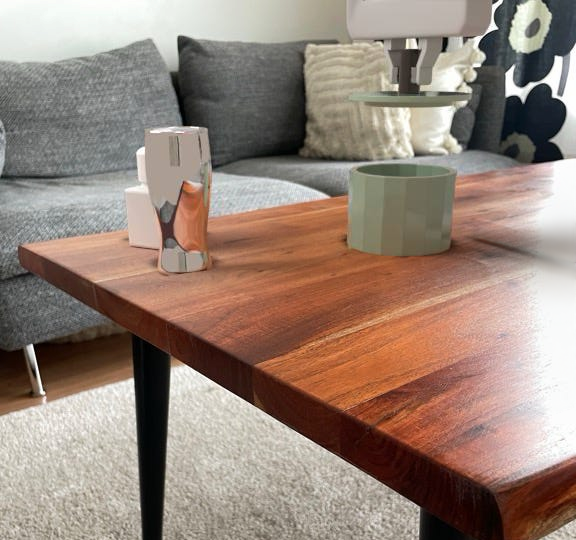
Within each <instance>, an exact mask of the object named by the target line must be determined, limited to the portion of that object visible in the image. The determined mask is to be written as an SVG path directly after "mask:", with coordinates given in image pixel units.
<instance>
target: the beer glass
mask: <svg viewBox="0 0 576 540" xmlns="http://www.w3.org/2000/svg"><path fill="white" fill-rule="evenodd" d="M143 130H144V146H145V168H146V178H147V186H148V191H149V196H150V200H151V204H152V208H153V212H154V216H155V220H156V224H157V228H158V234H159V249H158V260H157V271H158V273H159V274H161V275H163V276H167V277H170V276H178V275H183V274H192V273H197V272H204V271H211V270H213V263H212V258H211V254H210V250H209V249H210V248H209V243H208V226H209V225H208V224H209V215H210V209H211V200H212V189H213V188H212V185H213V170H212V169H213V168H212V156H211V155H212V154H211V148H210V147H211V146H210V140H209V129H208V128H207V127H202V126H188V125H186V126H182V125H181V126H179V125H178V126H157V127H149V128H146V129H145V128H144V129H143Z"/></svg>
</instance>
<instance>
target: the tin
mask: <svg viewBox="0 0 576 540" xmlns="http://www.w3.org/2000/svg"><path fill="white" fill-rule="evenodd" d="M457 175H458V170H457V169H454V168H452V167H450V166H444V165H440V164H439V165H438V164H431V163H430V164H429V163H418V162H415V163H414V162H378V163H377V162H376V163H367V164H366V163H365V164H361V165H355V166H352V167H351V168H349V170H348V201H347V228H346V229H347V233H346V244H347V248H348V250H352V249H354V250H357V251H359V252H363V253H367V254H373V255H379V256H392V257H422V256H429V255H435V254H440V253H443V252H445V251H448V250H449V249H450V247H451V241H452V231H453V220H454V219H453V218H454V209H455V200H456V199H455V197H456V189H457V188H456V187H457Z"/></svg>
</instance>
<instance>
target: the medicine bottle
mask: <svg viewBox="0 0 576 540" xmlns="http://www.w3.org/2000/svg"><path fill="white" fill-rule="evenodd" d="M135 154H136V165H137V178H138V181H139V182H140V183H141V185H136V186H131V187H128V188H127V187H126V188H125V189H124V191H123V193H124V202H125V203H124V204H125V213H126V214H125V215H126V222H127V224H126V225H127V233H128V234H127V235H128V243H129V246H130V247H135V248H144V249H150V250H151V249H152V250H159V234H158V228H157V224H156V220H155V216H154V212H153V208H152V204H151V200H150V196H149V191H148V186H147V178H146V168H145V145H144V146H142V147H140V148H139V149H137V151H136V152H135Z"/></svg>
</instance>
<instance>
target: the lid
mask: <svg viewBox="0 0 576 540" xmlns="http://www.w3.org/2000/svg"><path fill="white" fill-rule="evenodd" d="M421 51H422V50H419V49H418V48H406V49H400V64H399V83H398V84H397V87H398V88H397V90H379V91H378V90H377V91H373V90H371V91H355V92H348V93H347V100H348V101H352V102H363V105H364V106H366V107H373V108H399V109H402V108H403V109H404V108H406V109H419V108H421V109H422V108H423V109H424V108H446V107H451V106H454V102H457V103H458V102H467V101H471V100H472V93H470V92H464V91H448V90H447V91H444V90H421V85H412V84H411V77H412V76H411V68H412V67H416V66H417V63H418V60H419V57H420V54H421Z"/></svg>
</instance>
